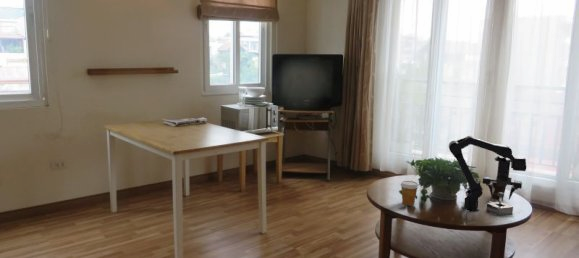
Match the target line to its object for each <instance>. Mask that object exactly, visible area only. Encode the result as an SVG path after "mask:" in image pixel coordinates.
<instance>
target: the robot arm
mask: <svg viewBox="0 0 579 258" xmlns="http://www.w3.org/2000/svg"><path fill="white" fill-rule="evenodd" d="M470 145H472V146H475V147H477V148H481V149H483V150H487V151H491V152H493V153H495V154H496V155H497V156H496V157H494V161H495V162H497V171H496V172H497V173H496V178H495V179H494V178H492V177H491V176H483V177H482V184H484V185H485V186H487V187H488V188H489V192H490V196H491V197H492V196H493V184H492V183H497V186H503V187H506V188H507V186H511V187H510V191H509V195H508V200H510V199H511V198H512V195H513V194H514V192H515V191H516V190H519V189H522V185H523V182H522V181H521V180H516V179H513V181H512V177H510V171H511V170H510V169H512V170H513V171H517V172H526V170H527V159H526V158H525V157H515V156H514V155H513V150H512V148H511V147H510V146H509V145H506V144H501V143H500V144H499V143H492V142H490V141H486V140H482V139H479V138H477V137H473V136H472V135H468V136H465V137H463V138H460V139H457V140H451V141H450V142H449V143H448V149H449V152H450V153H451V154H452V156H453V157H454V158H455V160H456V161H457V163H458V164H459V167H460V169H461V171H462V173H463V175H464V177H465V178H466V181H467V184H468V187H469V189H467V190H466V191H465V195H466V197H465V198H464V204H463V206H462V207H461V208H462V209H464V210H466V211H468V212H476V211H480V209H479V198H480V197H482V196H483V190H484V189H483V186H482V185H481V182H480V180H479V179H477V180H476V179H475V177H474V176H473V174H472V172H471V169H470V168H469V165H468V164H467V162H466V159H465V158H464V154H463V152H462V151H463V149H464V148H467V147H468V146H470Z"/></svg>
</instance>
